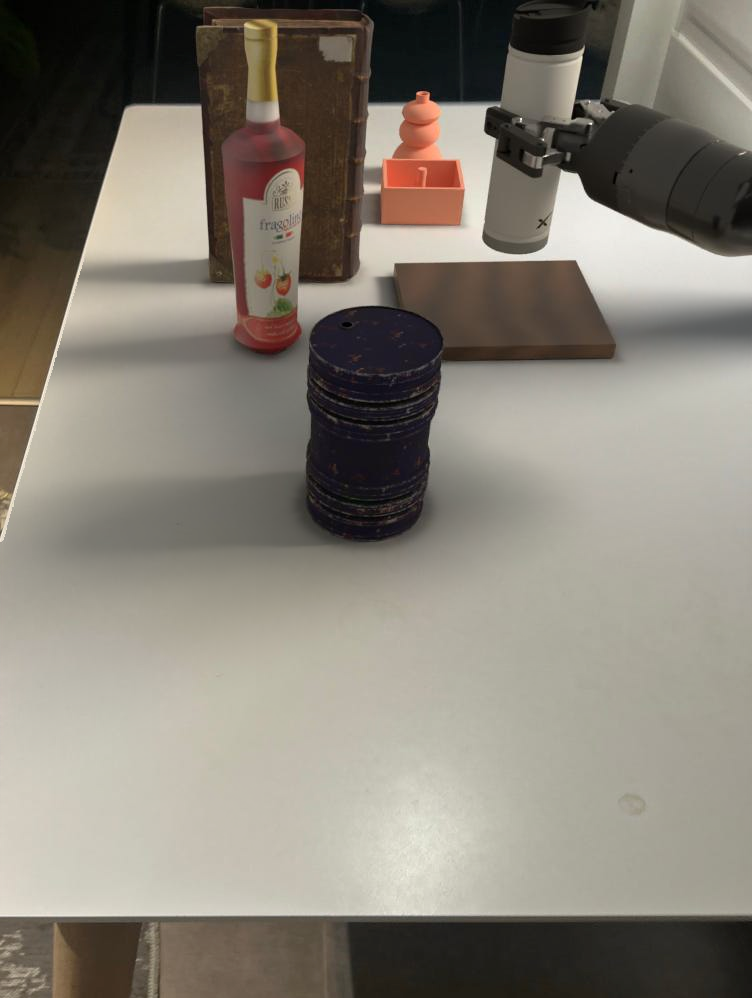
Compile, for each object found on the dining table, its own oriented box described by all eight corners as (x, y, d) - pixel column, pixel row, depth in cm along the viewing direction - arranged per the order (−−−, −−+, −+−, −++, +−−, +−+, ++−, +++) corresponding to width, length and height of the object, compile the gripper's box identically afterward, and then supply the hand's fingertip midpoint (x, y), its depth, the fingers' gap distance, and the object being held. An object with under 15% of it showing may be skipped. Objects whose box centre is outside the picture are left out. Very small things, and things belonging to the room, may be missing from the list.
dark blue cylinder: (449, 503, 79) (474, 338, 68) (369, 560, 74) (383, 392, 63) (359, 452, 84) (370, 291, 73) (280, 503, 79) (278, 338, 68)
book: (362, 262, 108) (376, 6, 90) (357, 292, 104) (371, 28, 85) (218, 255, 110) (203, 2, 92) (206, 284, 105) (188, 24, 87)
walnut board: (573, 272, 106) (576, 259, 105) (613, 358, 94) (617, 344, 93) (393, 275, 106) (394, 262, 105) (409, 361, 94) (411, 347, 93)
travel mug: (557, 254, 90) (606, 7, 76) (487, 256, 90) (523, 9, 76) (543, 227, 95) (587, -12, 80) (476, 228, 95) (509, -10, 80)
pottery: (460, 224, 115) (471, 137, 108) (381, 224, 115) (387, 137, 108) (450, 166, 127) (460, 85, 120) (379, 166, 128) (385, 84, 120)
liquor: (257, 369, 93) (246, 43, 73) (218, 338, 97) (198, 21, 77) (318, 347, 96) (324, 26, 75) (277, 317, 100) (273, 6, 80)
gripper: (735, 102, 75) (586, 50, 86) (599, 138, 71) (459, 79, 81) (705, 199, 81) (569, 139, 91) (578, 239, 76) (448, 171, 86)
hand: (518, 111), depth 86 cm, fingers closed on travel mug, 6 cm apart
